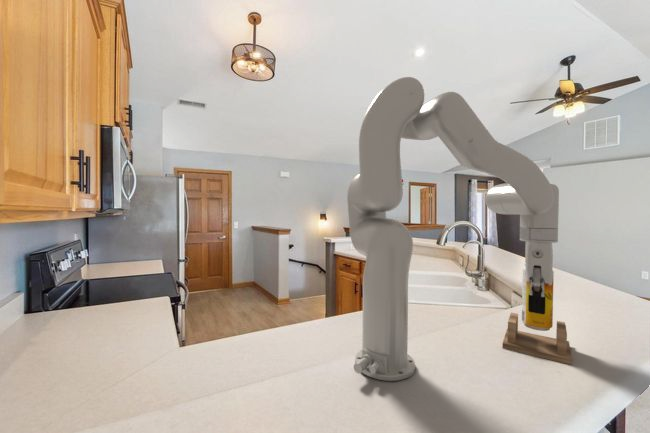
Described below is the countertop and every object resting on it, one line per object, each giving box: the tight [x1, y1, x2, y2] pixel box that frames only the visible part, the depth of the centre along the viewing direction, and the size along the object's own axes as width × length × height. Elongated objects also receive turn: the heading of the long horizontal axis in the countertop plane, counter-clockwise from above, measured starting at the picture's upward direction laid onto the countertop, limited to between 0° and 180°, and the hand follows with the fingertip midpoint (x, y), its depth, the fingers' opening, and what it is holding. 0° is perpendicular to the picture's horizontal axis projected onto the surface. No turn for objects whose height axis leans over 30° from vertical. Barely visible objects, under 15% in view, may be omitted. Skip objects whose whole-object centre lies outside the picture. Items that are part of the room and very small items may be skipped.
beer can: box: [521, 264, 555, 332], centre depth 72 cm, size 6×6×15 cm
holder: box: [501, 312, 573, 366], centre depth 72 cm, size 11×13×6 cm
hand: (536, 308), depth 72 cm, fingers closed on beer can, 6 cm apart
